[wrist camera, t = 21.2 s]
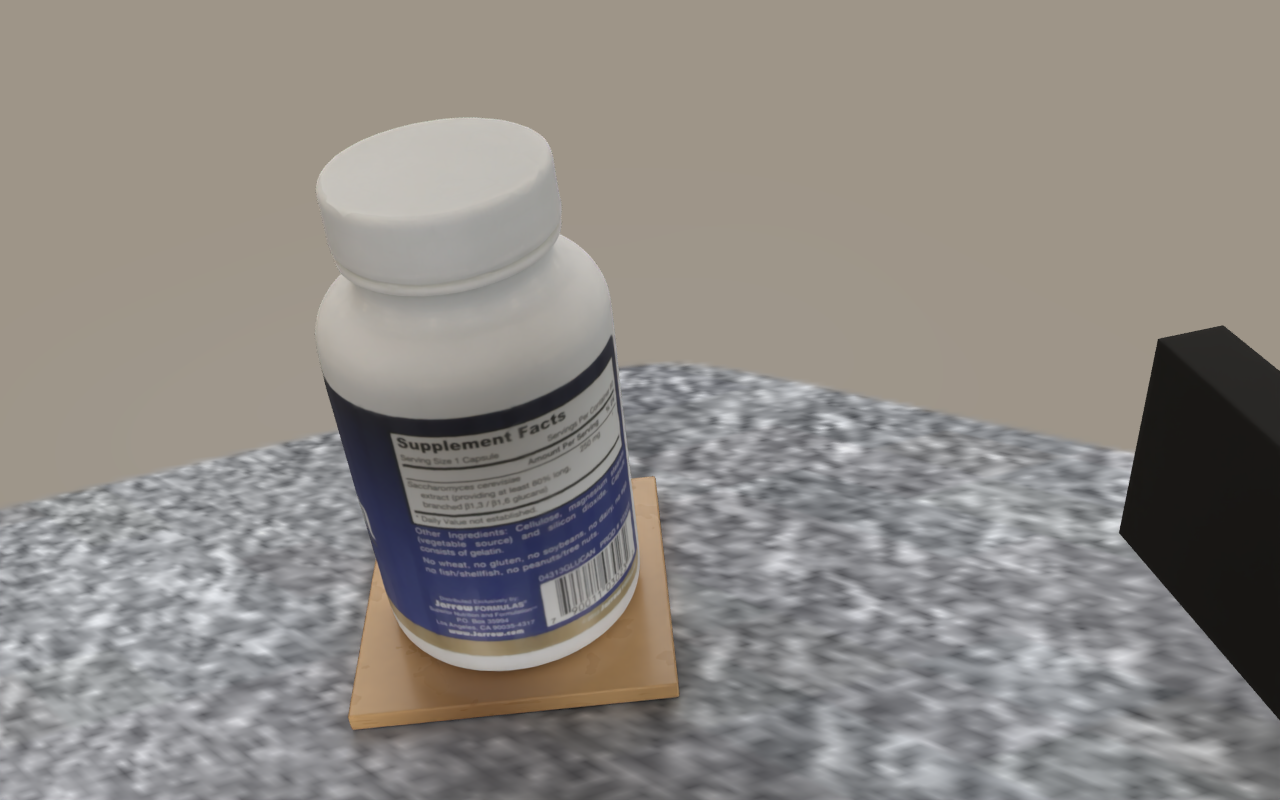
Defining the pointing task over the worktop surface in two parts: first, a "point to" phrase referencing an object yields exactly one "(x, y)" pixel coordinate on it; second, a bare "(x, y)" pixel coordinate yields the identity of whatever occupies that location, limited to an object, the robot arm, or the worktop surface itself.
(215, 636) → the worktop surface
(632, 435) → the worktop surface
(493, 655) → the pill bottle
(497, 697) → the coaster
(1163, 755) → the worktop surface
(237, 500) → the worktop surface
